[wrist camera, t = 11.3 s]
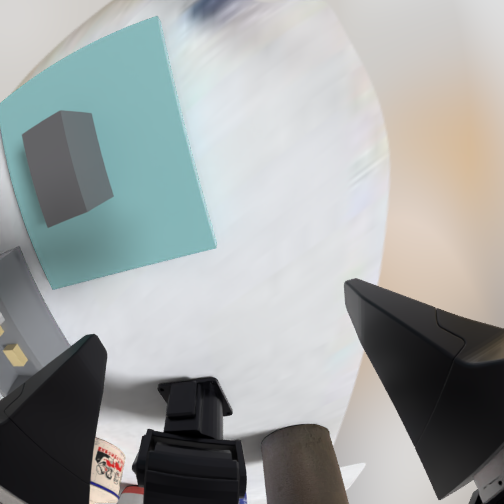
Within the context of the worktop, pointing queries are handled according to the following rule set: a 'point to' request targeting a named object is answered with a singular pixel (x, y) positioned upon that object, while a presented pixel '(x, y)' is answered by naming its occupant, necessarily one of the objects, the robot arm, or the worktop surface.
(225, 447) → the robot arm
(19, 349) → the tub
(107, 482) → the teacup with lid
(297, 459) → the pillar candle
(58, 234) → the lid
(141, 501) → the citrus juicer
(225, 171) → the worktop surface
